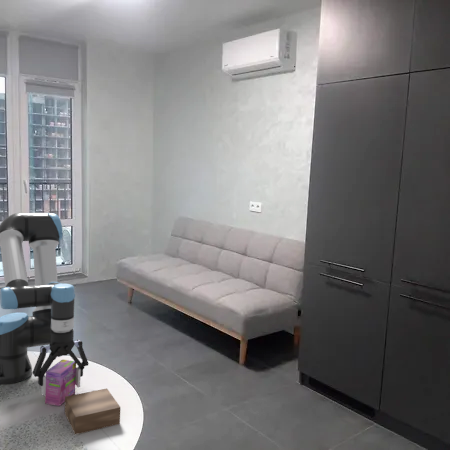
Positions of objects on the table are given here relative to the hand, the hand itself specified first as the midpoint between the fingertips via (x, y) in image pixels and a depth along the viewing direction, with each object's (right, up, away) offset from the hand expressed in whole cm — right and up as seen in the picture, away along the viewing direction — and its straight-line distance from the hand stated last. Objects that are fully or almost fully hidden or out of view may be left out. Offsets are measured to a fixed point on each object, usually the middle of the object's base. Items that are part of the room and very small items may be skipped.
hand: (60, 389), depth 159 cm
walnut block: (+14, -6, -11) cm, 19 cm away
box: (0, -3, 0) cm, 3 cm away
